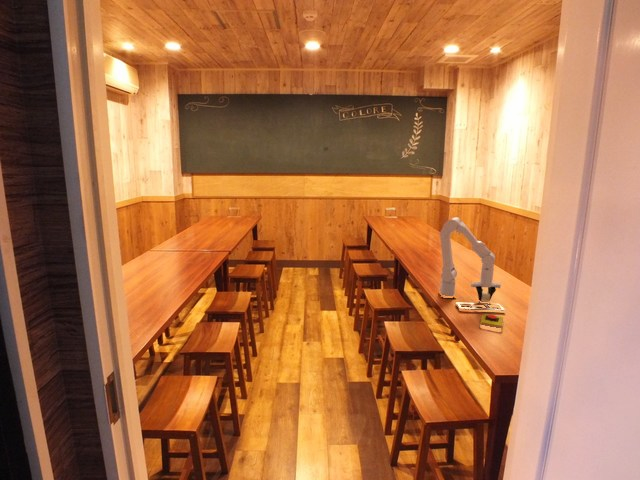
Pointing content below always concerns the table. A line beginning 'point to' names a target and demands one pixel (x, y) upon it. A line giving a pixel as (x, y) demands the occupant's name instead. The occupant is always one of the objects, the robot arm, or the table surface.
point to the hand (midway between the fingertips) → (484, 300)
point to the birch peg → (485, 297)
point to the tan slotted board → (479, 308)
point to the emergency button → (491, 321)
